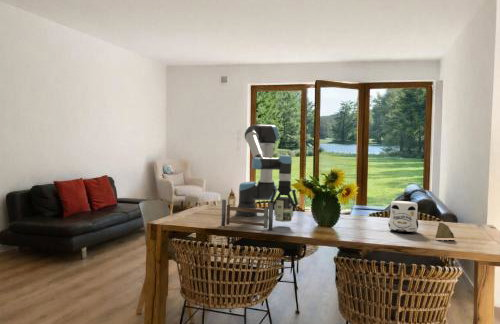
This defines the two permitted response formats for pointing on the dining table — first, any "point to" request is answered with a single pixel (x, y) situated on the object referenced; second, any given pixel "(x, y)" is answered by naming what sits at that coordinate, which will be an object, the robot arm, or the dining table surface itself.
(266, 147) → the robot arm
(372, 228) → the dining table surface
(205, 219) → the dining table surface
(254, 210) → the gate leaf
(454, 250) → the dining table surface
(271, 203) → the gate posts
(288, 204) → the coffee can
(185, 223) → the dining table surface
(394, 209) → the milk container
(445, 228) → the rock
